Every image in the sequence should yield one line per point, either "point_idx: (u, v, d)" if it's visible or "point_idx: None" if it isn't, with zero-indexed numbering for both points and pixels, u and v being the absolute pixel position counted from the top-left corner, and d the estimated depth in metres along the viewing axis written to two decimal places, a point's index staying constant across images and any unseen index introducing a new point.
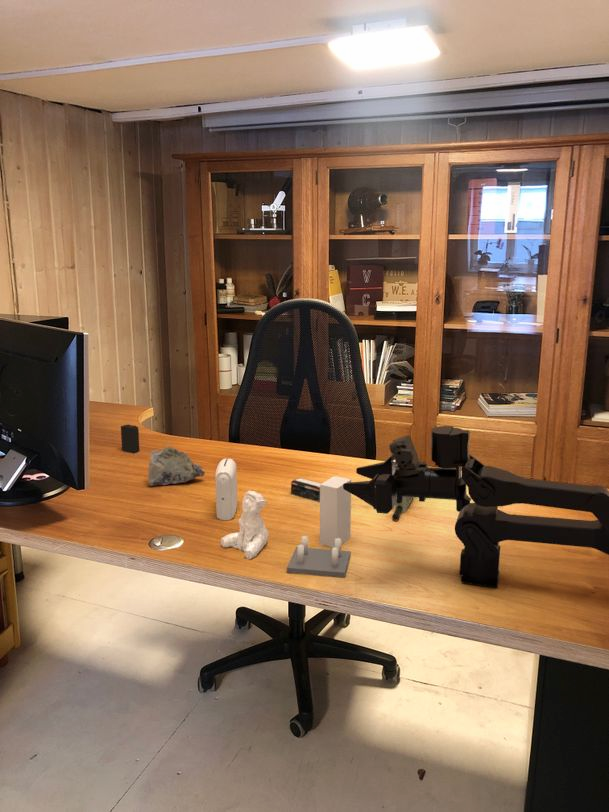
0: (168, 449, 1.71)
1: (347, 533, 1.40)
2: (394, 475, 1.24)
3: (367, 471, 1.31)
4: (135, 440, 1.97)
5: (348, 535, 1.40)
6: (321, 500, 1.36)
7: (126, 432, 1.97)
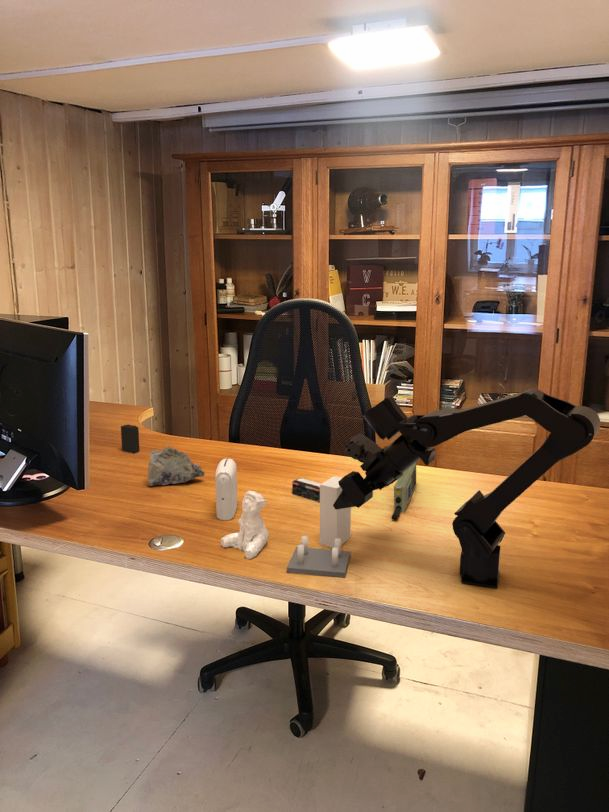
0: (168, 449, 1.71)
1: (347, 533, 1.40)
2: None
3: None
4: (135, 440, 1.97)
5: (348, 535, 1.40)
6: (321, 500, 1.36)
7: (126, 432, 1.97)
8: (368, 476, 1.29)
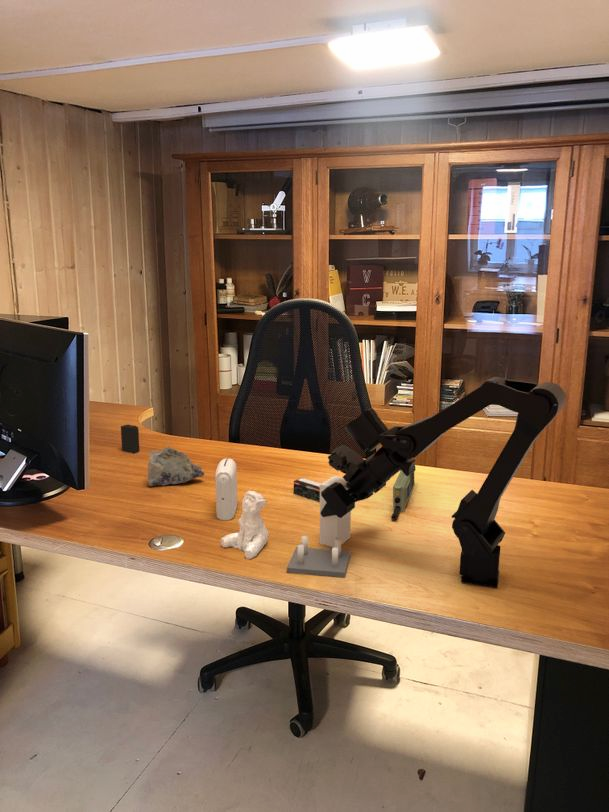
0: (167, 449, 1.71)
1: (347, 533, 1.40)
2: None
3: None
4: (135, 440, 1.97)
5: (348, 535, 1.40)
6: (321, 500, 1.36)
7: (126, 432, 1.97)
8: (350, 487, 1.31)
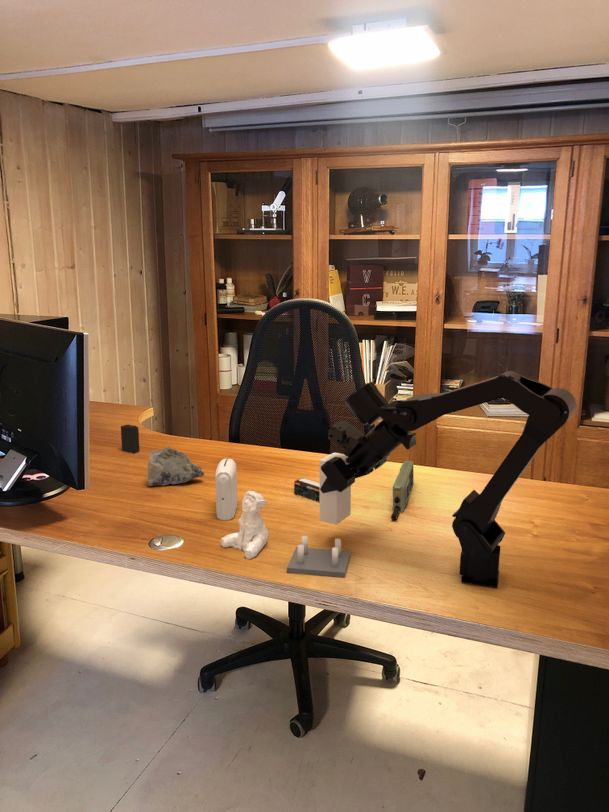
0: (167, 449, 1.71)
1: (347, 510, 1.38)
2: None
3: None
4: (135, 440, 1.97)
5: (348, 512, 1.39)
6: (321, 476, 1.34)
7: (126, 432, 1.97)
8: (350, 461, 1.30)
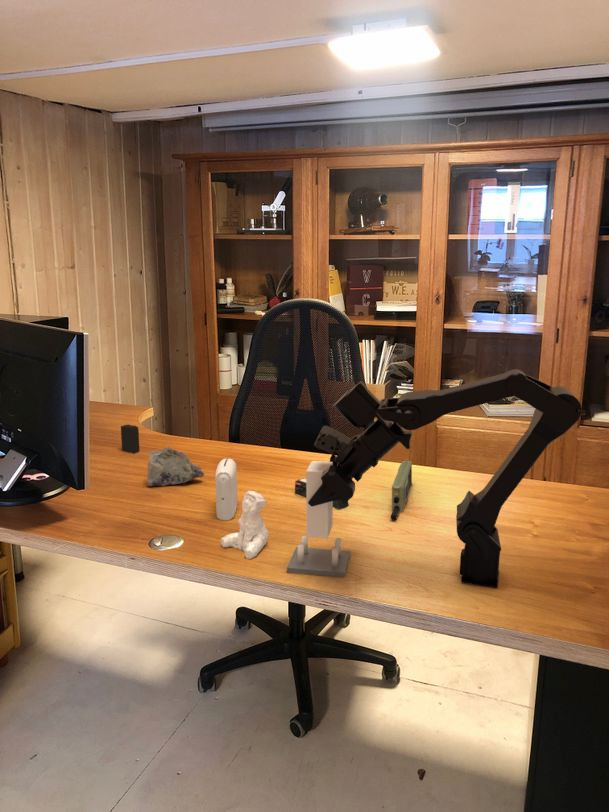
0: (167, 449, 1.70)
1: (331, 521, 1.29)
2: None
3: None
4: (135, 440, 1.97)
5: (331, 523, 1.29)
6: (308, 488, 1.23)
7: (126, 432, 1.97)
8: (344, 469, 1.21)
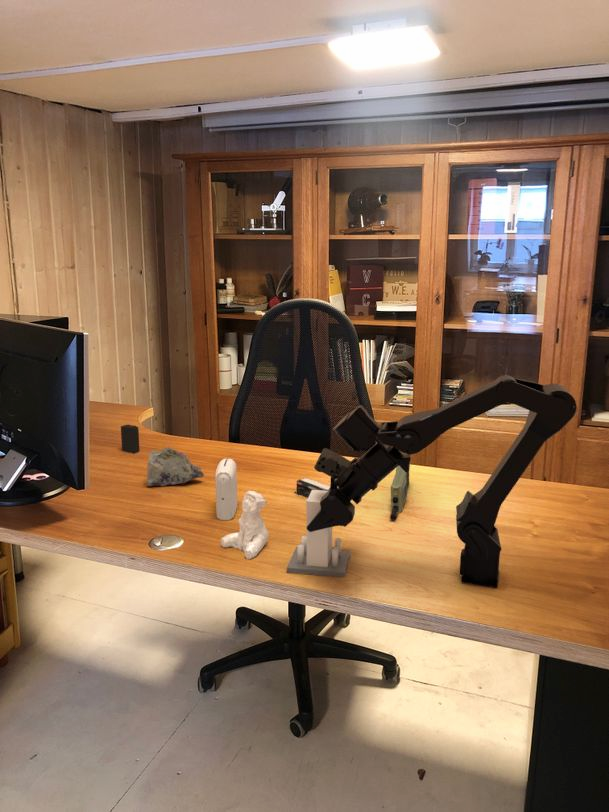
0: (167, 450, 1.70)
1: (331, 549, 1.30)
2: (340, 487, 1.24)
3: None
4: (135, 440, 1.97)
5: (331, 551, 1.31)
6: (308, 518, 1.24)
7: (126, 432, 1.97)
8: (344, 492, 1.22)
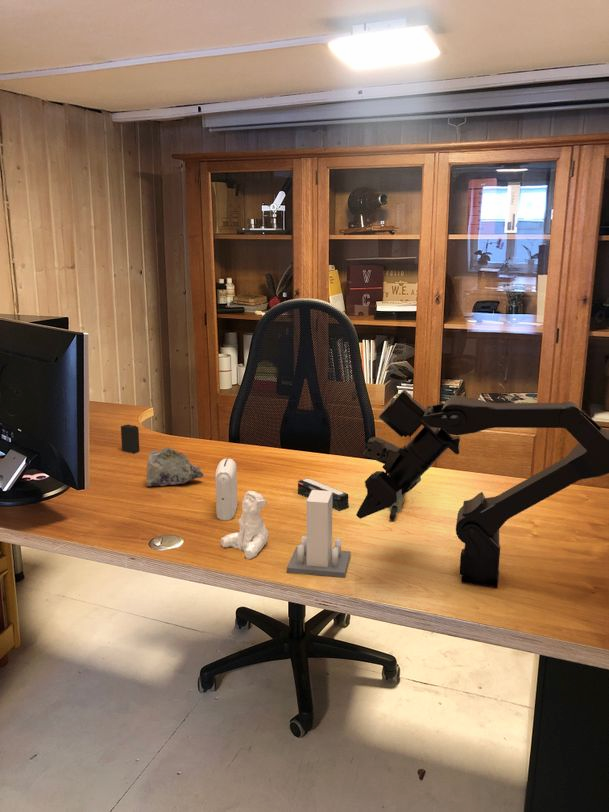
0: (167, 450, 1.70)
1: (331, 549, 1.30)
2: None
3: None
4: (135, 440, 1.97)
5: (331, 551, 1.31)
6: (308, 518, 1.24)
7: (126, 432, 1.97)
8: (392, 476, 1.21)
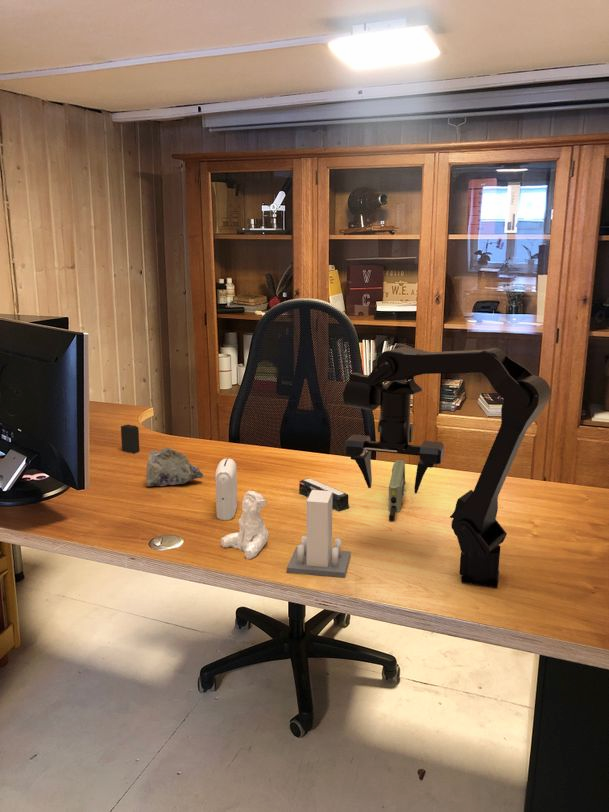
0: (166, 450, 1.70)
1: (331, 549, 1.30)
2: None
3: None
4: (135, 440, 1.97)
5: (331, 551, 1.31)
6: (308, 518, 1.24)
7: (126, 432, 1.97)
8: None
